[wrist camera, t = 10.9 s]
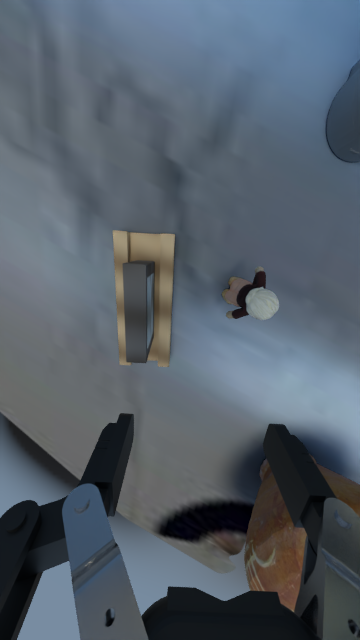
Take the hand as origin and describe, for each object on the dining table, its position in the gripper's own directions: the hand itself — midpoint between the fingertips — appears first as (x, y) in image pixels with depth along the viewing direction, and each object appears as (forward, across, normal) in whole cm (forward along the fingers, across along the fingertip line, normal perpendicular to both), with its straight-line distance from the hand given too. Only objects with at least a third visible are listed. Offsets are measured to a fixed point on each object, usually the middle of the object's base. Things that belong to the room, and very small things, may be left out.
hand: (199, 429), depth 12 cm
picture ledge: (+23, +7, -2) cm, 24 cm away
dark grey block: (+21, +7, -2) cm, 22 cm away
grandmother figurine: (+23, -7, -5) cm, 25 cm away
